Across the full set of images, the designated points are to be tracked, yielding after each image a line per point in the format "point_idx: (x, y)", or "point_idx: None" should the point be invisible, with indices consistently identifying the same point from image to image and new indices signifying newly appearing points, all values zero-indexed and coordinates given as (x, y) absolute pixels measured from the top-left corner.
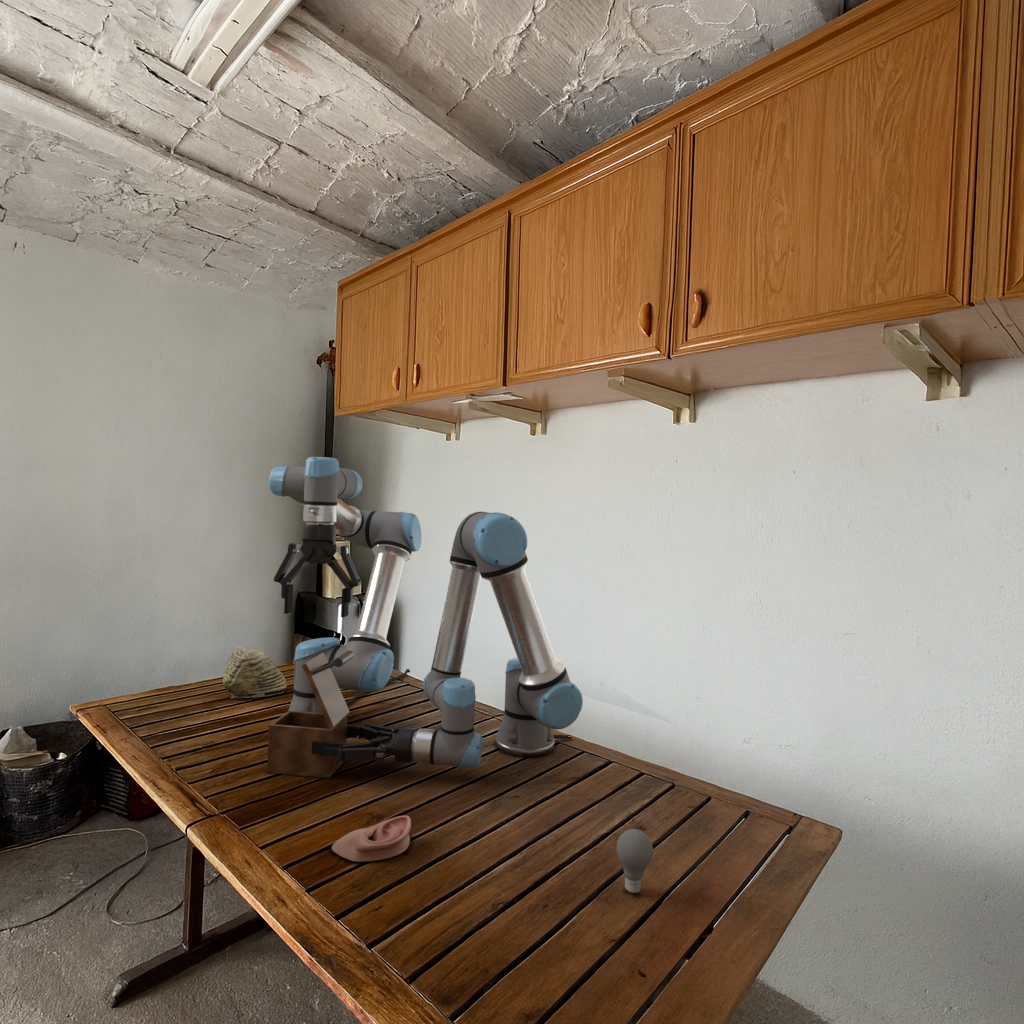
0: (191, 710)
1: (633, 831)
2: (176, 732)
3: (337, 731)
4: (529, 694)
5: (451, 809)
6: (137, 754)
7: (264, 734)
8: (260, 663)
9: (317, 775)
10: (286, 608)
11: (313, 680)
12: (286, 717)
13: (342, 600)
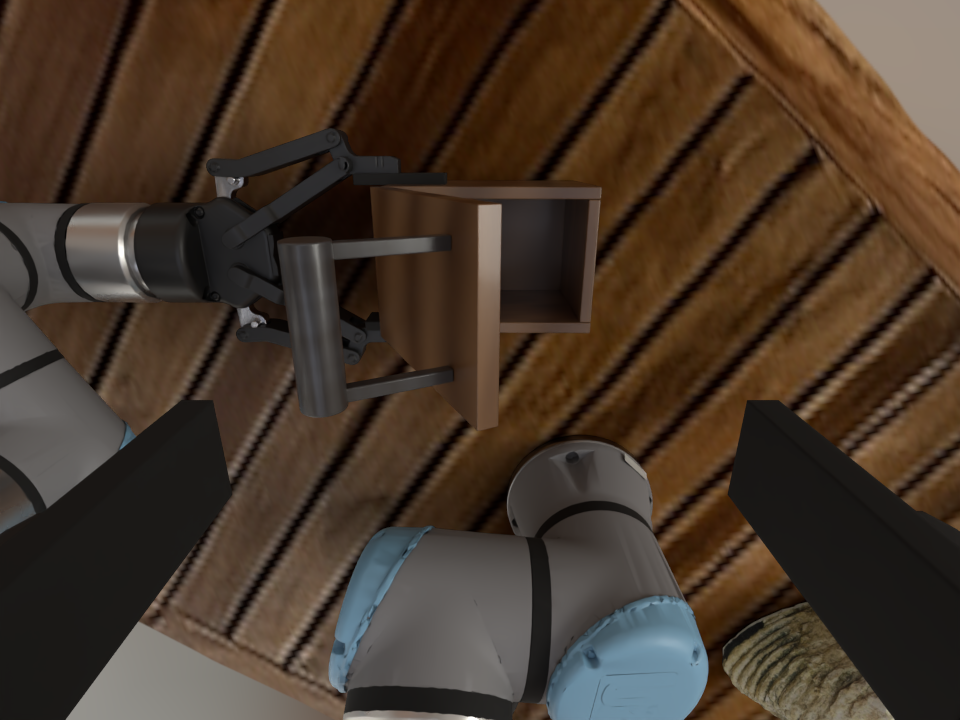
0: None
1: None
2: (903, 375)
3: None
4: None
5: (26, 61)
6: (954, 224)
7: (673, 406)
8: (827, 696)
9: None
10: (785, 425)
11: (436, 197)
12: (579, 291)
13: (91, 499)
